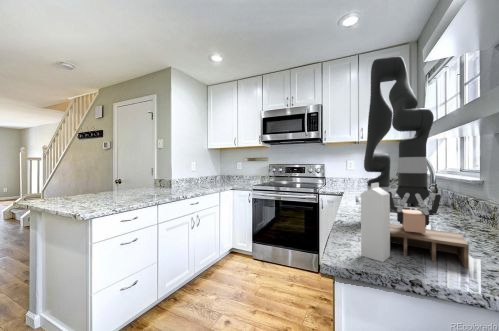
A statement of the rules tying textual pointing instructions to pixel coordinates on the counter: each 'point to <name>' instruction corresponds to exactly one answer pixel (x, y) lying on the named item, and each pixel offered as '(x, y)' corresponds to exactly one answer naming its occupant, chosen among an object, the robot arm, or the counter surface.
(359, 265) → the counter surface
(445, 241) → the wooden bench
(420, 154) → the robot arm
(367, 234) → the milk
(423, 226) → the block
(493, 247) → the counter surface
